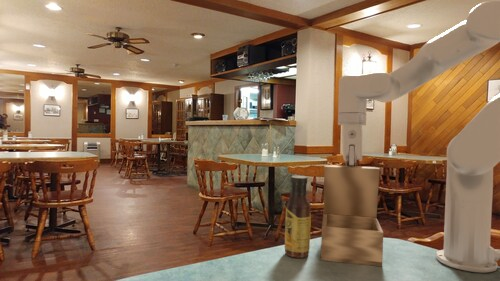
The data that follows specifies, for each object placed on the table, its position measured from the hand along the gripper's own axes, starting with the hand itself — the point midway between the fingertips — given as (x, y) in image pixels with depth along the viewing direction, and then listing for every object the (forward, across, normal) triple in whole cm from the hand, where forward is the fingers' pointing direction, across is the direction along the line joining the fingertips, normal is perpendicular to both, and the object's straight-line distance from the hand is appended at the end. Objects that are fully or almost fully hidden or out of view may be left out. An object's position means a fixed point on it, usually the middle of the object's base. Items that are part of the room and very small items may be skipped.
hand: (350, 185), depth 99 cm
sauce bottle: (+16, -14, +13) cm, 25 cm away
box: (+16, -9, 0) cm, 18 cm away
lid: (+1, -4, 0) cm, 4 cm away
